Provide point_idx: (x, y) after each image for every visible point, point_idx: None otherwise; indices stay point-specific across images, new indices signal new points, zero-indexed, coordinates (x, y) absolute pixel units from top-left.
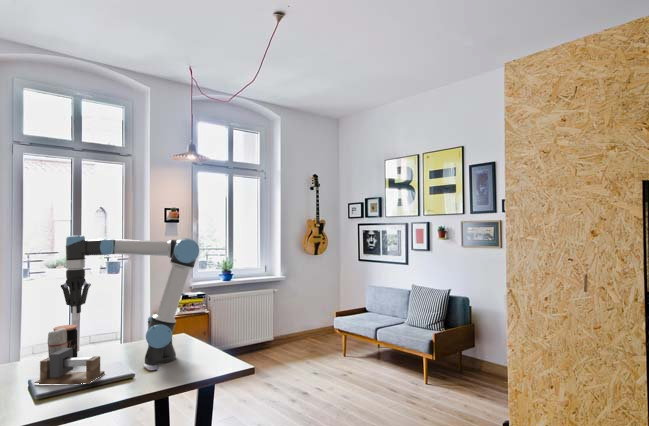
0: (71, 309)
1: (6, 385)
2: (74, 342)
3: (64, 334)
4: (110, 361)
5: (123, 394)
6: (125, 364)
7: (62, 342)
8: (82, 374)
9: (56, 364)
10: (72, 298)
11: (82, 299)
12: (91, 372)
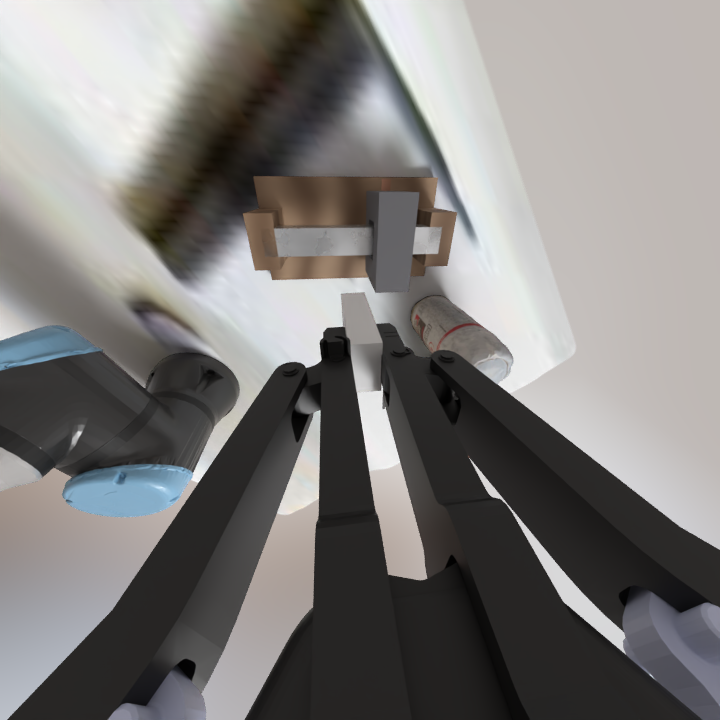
0: (394, 337)
1: (521, 186)
2: None
3: None
4: None
5: (3, 29)
6: (272, 354)
7: (444, 342)
8: None
9: (381, 191)
10: (407, 405)
11: (263, 405)
12: (259, 209)
